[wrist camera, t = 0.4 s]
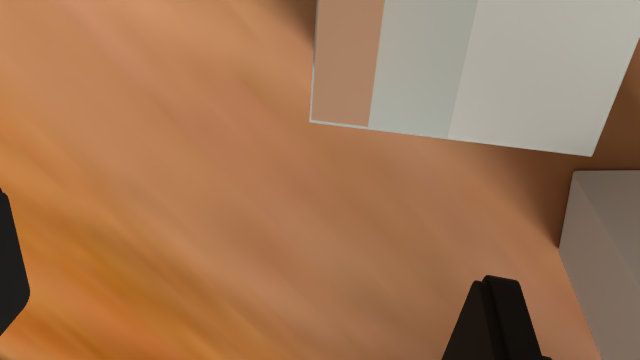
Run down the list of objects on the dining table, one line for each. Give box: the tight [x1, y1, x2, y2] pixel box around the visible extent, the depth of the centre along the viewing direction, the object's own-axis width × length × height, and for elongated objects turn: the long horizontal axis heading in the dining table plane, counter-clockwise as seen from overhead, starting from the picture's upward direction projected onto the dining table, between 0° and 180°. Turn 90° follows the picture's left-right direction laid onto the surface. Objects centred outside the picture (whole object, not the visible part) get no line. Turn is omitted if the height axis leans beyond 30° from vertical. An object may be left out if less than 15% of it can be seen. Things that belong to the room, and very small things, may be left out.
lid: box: [309, 0, 640, 157], centre depth 23 cm, size 15×11×7 cm
